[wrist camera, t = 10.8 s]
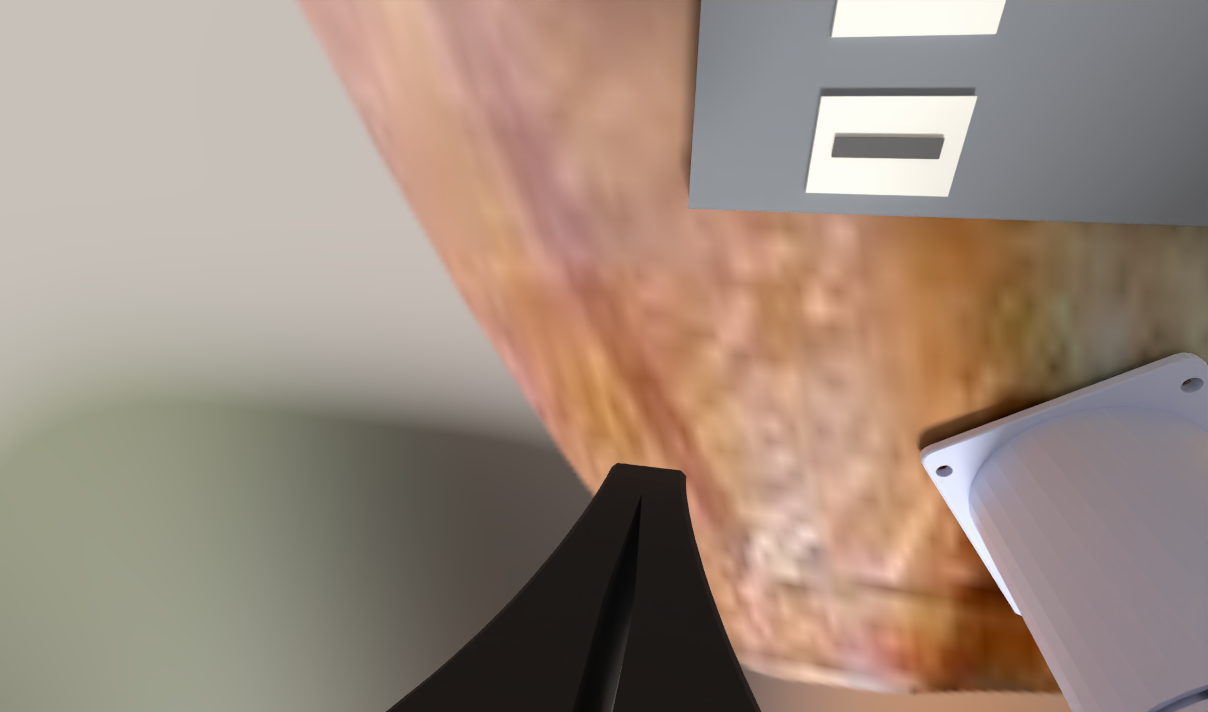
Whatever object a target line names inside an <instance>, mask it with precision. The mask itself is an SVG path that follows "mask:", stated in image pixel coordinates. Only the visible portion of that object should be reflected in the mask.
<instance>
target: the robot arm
mask: <svg viewBox="0 0 1208 712" xmlns="http://www.w3.org/2000/svg"><path fill="white" fill-rule="evenodd" d="M1190 378H1193V379H1192V380H1191V382H1189V383H1187V384H1186V385H1182V384H1183V382H1184V381H1186V380H1188V379H1190ZM919 457H920V460H921V462H922V464H923V466H924V468H925V470H926V471H927V473H928V474H929V476H930V478H931V479H932V481H933V482H934V484H935V485H936V487H937V489H938V490H939V492H940V493H941V495H942V497H943V498H944V500H945V501H946V503H947V505H948V506H949V508H950V509H951V511H952V513H953V514H954V516H955V517H956V519H957V521H958V522H959V524H960V525H961V527H962V529H963V530H964V532H965V533H966V535H967V537H968V538H969V540H970V541H971V543H972V545H973V546H974V548H975V549H976V551H977V553H978V554H979V556H980V557H981V559H982V561H983V562H984V564H985V565H986V567H987V569H988V570H989V572H990V573H991V575H992V577H993V578H994V580H995V581H996V583H997V584H998V586H999V588H1000V589H1001V591H1002V592H1003V594H1004V596H1005V597H1006V599H1007V600H1008V602H1009V604H1010V605H1011V607H1012V608H1013V610H1014V611H1015V612H1016V613H1017V614H1019V615H1021V616H1022V617H1023V619H1024V621H1025V623H1026V624H1027V626H1028V628H1029V630H1030V632H1031V634H1032V636H1033V638H1034V640H1035V641H1036V643H1037V645H1038V647H1039V649H1040V651H1041V653H1042V655H1043V657H1044V659H1045V660H1046V662H1047V664H1048V666H1049V668H1050V670H1051V672H1052V674H1053V676H1054V677H1055V679H1056V681H1057V683H1058V685H1059V687H1060V689H1061V691H1062V693H1063V694H1064V696H1065V698H1066V700H1067V702H1068V704H1069V706H1070V708H1071V710H1072V711H1073V712H1208V364H1207V363H1206V362H1205V361H1204V360H1203V359H1202V358H1200V357H1198V356H1197V355H1195V354H1192V353H1183V352H1182V353H1178V354H1174V355H1171V356H1168V357H1166V358H1163V359H1160V360H1158V361H1155V362H1152V363H1150V364H1147V365H1144V366H1141V367H1139V368H1136V369H1133V370H1131V371H1128V372H1125V373H1123V374H1120V375H1117V376H1115V377H1112V378H1109V379H1106V380H1104V381H1101V382H1098V383H1096V384H1093V385H1090V386H1088V387H1085V388H1082V389H1079V390H1077V391H1074V392H1071V393H1069V394H1066V395H1063V396H1061V397H1058V398H1055V399H1053V400H1050V401H1047V402H1044V403H1042V404H1039V405H1036V406H1034V407H1031V408H1028V409H1026V410H1023V411H1020V412H1018V413H1015V414H1012V415H1009V416H1007V417H1004V418H1001V419H999V420H996V421H993V422H991V423H988V424H985V425H982V426H980V427H977V428H974V429H972V430H969V431H966V432H964V433H961V434H958V435H956V436H953V437H950V438H947V439H945V440H942V441H939V442H937V443H934V444H931V445H929V446H927V447H925V448H924V449H923V450H922V451H921V452H920V456H919ZM944 465H947V467H946V468H944V469H940V470H939V469H937V468H939V467H940V466H944ZM623 658H624V659H623ZM622 662H623V664H622ZM621 666H622V669H621ZM620 670H621V674H620ZM619 674H620V679H619ZM618 679H619V684H618V689H617V694H616V699H615V704H614V709H613V712H761V710H760V708H759V706H758V704H757V702H756V700H755V697H754V695H753V693H752V691H751V689H750V687H749V684H748V682H747V680H746V678H745V676H744V674H743V671H742V669H741V667H740V664H739V662H738V660H737V657H736V655H735V653H734V650H733V648H732V646H731V643H730V641H729V638H728V636H727V633H726V631H725V628H724V626H723V623H722V621H721V618H720V615H719V613H718V610H717V607H716V604H715V601H714V599H713V596H712V593H711V590H710V587H709V584H708V581H707V578H706V575H705V572H704V568H703V565H702V561H701V558H700V554H699V551H698V547H697V544H696V540H695V536H694V532H693V528H692V523H691V518H690V514H689V508H688V502H687V494H686V476H685V475H684V473H683V472H682V471H680V470H672V469H663V468H655V467H647V466H638V465H630V464H621V463H617V464H615V465H614V466H613V467H612V468H611V469H610V471H609V473H608V475H607V477H606V479H605V480H604V482H603V484H602V485H601V487H600V489H599V490H598V492H597V493H596V495H595V496H594V498H593V500H592V501H591V502H590V504H589V505H588V507H587V508H586V510H585V511H584V513H583V514H582V515H581V517H580V518H579V519H578V521H577V522H576V523H575V525H574V526H573V527H572V529H571V530H570V531H569V533H568V534H567V535H566V537H565V538H564V539H563V541H562V542H561V543H560V545H559V546H558V547H557V549H556V550H555V551H554V552H553V553H552V554H551V556H550V557H549V558H548V559H547V560H546V562H545V563H544V564H543V565H542V566H541V567H540V569H539V570H538V571H537V572H536V573H535V575H534V576H533V577H532V578H531V579H530V580H529V582H528V583H527V584H526V585H525V586H524V587H523V588H522V589H521V590H520V591H519V592H518V594H517V595H516V596H515V597H514V598H513V599H512V600H511V601H510V602H509V603H508V604H507V605H506V606H505V607H504V608H503V609H502V610H501V611H500V612H499V613H498V614H497V615H496V616H495V617H494V618H493V619H492V620H491V621H490V622H489V623H488V624H487V625H486V626H485V627H484V628H483V629H482V630H481V631H480V632H479V633H478V634H477V635H476V636H475V637H474V638H472V639H471V640H470V641H469V642H468V643H467V644H466V645H465V646H464V647H463V648H462V649H461V650H459V651H458V652H457V653H456V654H455V655H454V656H453V657H452V658H451V659H449V660H448V661H447V662H446V663H445V664H444V665H443V666H441V667H440V668H439V669H438V670H437V671H436V672H435V673H434V674H432V675H431V676H430V677H429V678H427V679H426V680H425V681H424V682H422V683H421V684H420V685H419V686H417V687H416V688H415V689H414V690H412V691H411V692H410V693H409V694H407V695H406V696H405V697H404V698H402V699H401V700H400V701H399V702H397V703H396V704H395V705H394V706H392V708H390V709H389V710H388V711H386V712H611V708H612V703H613V699H614V695H615V691H616V687H617V683H618Z"/></svg>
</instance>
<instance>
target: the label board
mask: <svg viewBox="0 0 1208 712" xmlns="http://www.w3.org/2000/svg"><path fill="white" fill-rule="evenodd" d="M688 209H712V210H741V211H770V212H799V213H828V214H857V215H886V216H915V217H944V218H973V219H1002V220H1031V221H1060V222H1089V223H1118V224H1147V225H1176V226H1205V227H1208V0H701V13H700V29H699V44H698V60H697V76H696V92H695V108H694V124H693V139H692V155H691V171H690V187H689V203H688Z"/></svg>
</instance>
